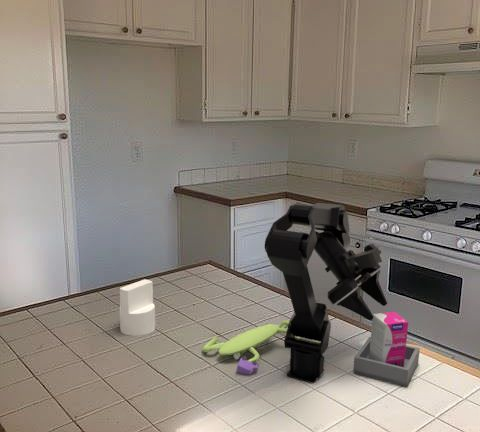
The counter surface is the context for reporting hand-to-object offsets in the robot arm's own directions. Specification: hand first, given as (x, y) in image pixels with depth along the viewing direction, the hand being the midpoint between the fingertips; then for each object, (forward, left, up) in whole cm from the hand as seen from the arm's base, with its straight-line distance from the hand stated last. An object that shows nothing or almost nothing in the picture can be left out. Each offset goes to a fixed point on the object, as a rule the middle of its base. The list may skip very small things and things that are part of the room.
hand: (379, 311), depth 120 cm
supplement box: (+2, 0, -12) cm, 13 cm away
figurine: (-25, -6, -14) cm, 29 cm away
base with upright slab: (-60, -11, -13) cm, 62 cm away
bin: (+2, 0, -13) cm, 13 cm away
